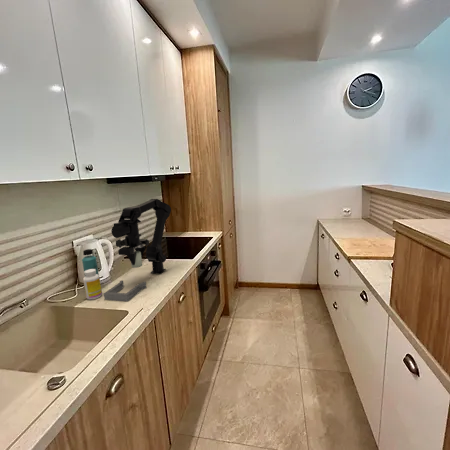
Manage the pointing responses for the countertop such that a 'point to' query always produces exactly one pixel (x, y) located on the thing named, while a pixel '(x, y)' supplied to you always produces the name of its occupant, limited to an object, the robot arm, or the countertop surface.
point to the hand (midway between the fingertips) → (136, 262)
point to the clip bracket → (113, 294)
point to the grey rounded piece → (137, 260)
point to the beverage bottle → (89, 261)
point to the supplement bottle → (92, 284)
